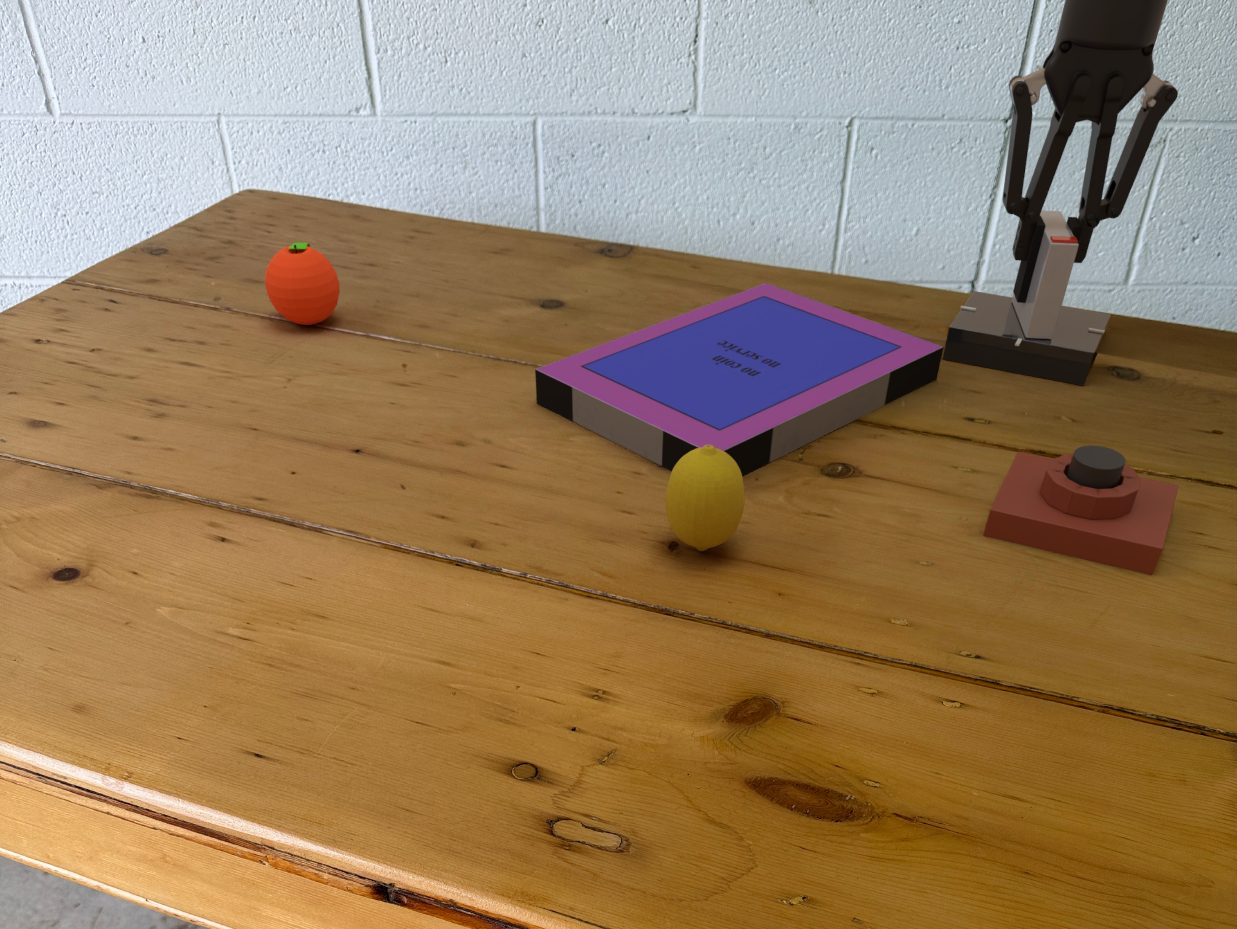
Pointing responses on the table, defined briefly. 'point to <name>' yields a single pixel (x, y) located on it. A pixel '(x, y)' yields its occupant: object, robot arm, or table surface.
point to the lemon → (705, 497)
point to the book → (738, 378)
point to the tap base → (1024, 340)
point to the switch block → (1082, 514)
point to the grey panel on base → (1048, 278)
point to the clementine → (302, 284)
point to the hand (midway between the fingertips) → (1036, 297)
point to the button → (1096, 467)
